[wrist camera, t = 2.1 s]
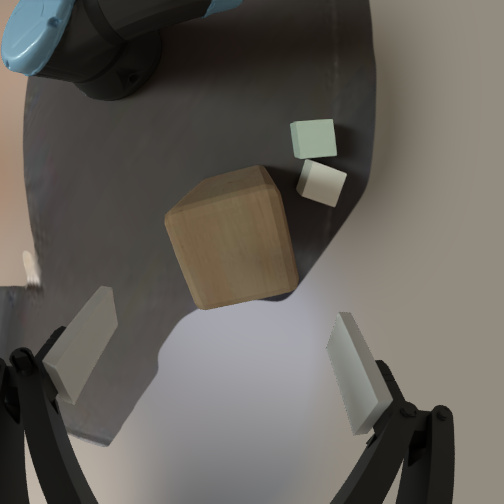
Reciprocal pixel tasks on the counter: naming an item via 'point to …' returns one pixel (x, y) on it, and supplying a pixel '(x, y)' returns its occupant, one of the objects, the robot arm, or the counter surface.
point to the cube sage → (313, 138)
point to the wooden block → (233, 239)
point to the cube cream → (320, 183)
